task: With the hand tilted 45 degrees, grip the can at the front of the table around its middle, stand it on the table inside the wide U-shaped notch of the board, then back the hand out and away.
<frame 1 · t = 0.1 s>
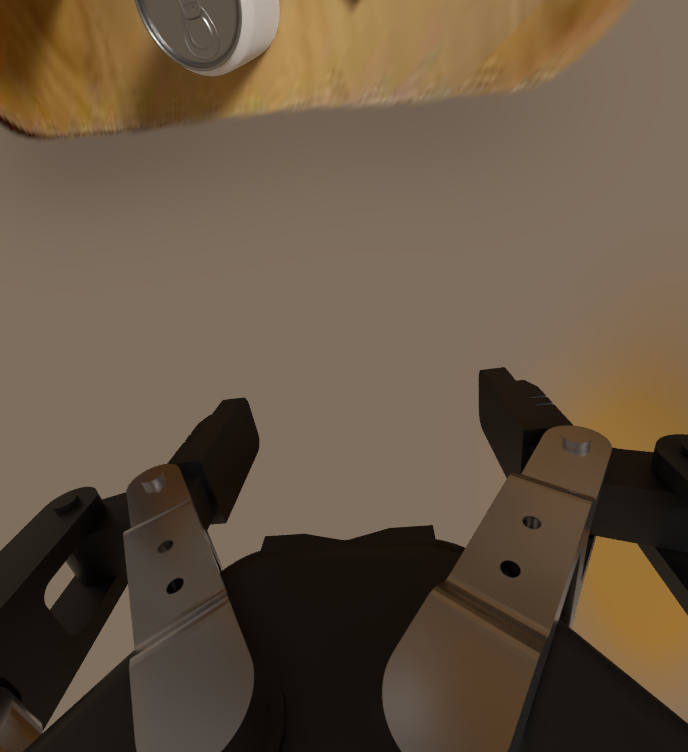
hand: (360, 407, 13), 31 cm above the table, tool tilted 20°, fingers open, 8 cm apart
can: (238, 2, 28), on the table
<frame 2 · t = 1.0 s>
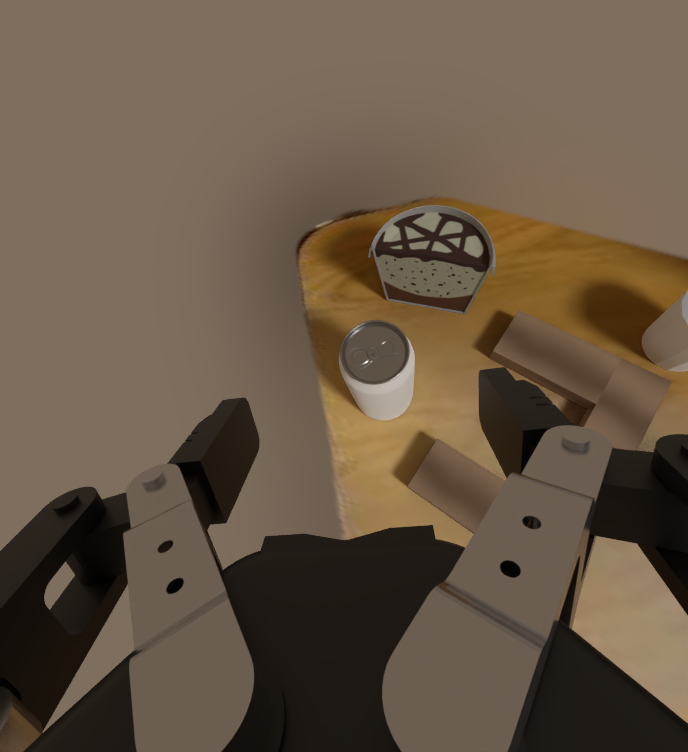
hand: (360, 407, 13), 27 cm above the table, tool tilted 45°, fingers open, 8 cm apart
can: (383, 393, 40), on the table
notched board: (531, 438, 36), on the table
white short cylinder: (671, 346, 37), on the table
food container: (430, 285, 44), on the table
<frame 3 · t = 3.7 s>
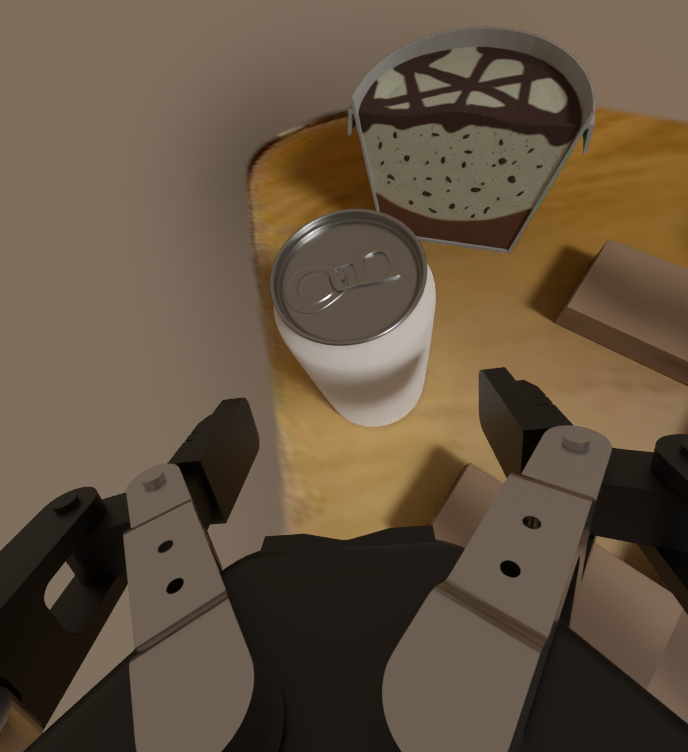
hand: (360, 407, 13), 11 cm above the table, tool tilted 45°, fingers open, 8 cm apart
can: (374, 381, 24), on the table
notched board: (640, 463, 20), on the table
food container: (452, 212, 28), on the table
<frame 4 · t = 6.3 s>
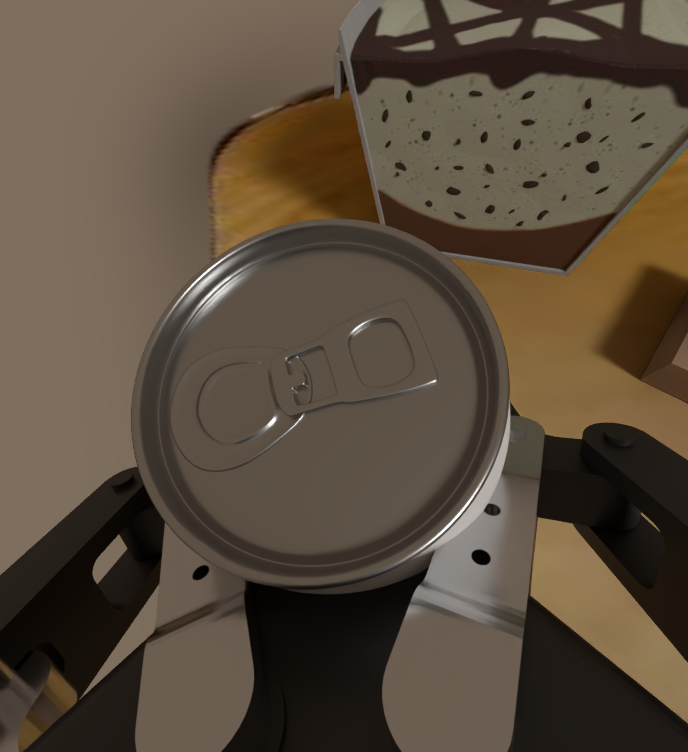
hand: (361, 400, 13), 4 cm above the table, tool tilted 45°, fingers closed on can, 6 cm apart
can: (375, 462, 17), on the table, touching gripper
food container: (481, 217, 20), on the table
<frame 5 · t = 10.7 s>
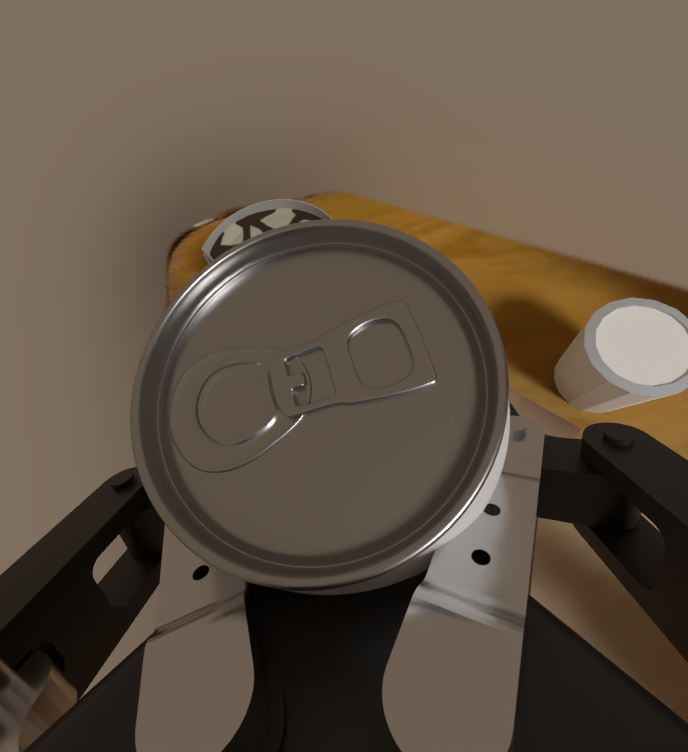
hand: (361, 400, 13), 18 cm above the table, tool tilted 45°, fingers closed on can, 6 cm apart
can: (375, 462, 17), point 14 cm above the table, touching gripper
notched board: (410, 495, 29), on the table
white short cylinder: (590, 380, 30), on the table
food container: (314, 298, 36), on the table
when the fingers open (4 cm above the table, at t = 15.4 s): can stays where it is, on the table.
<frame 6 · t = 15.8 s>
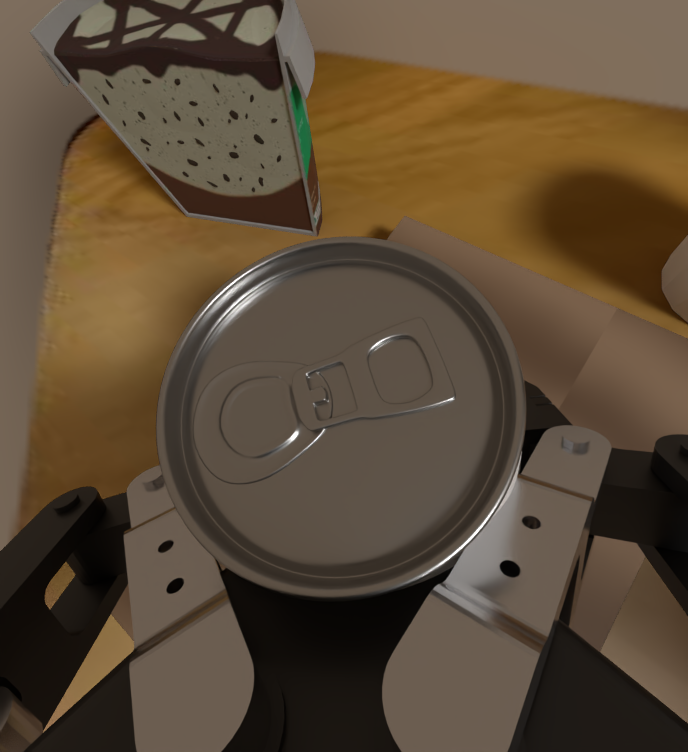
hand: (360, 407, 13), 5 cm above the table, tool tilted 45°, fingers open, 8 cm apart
can: (379, 466, 17), on the table
notched board: (413, 488, 16), on the table
food container: (267, 190, 24), on the table
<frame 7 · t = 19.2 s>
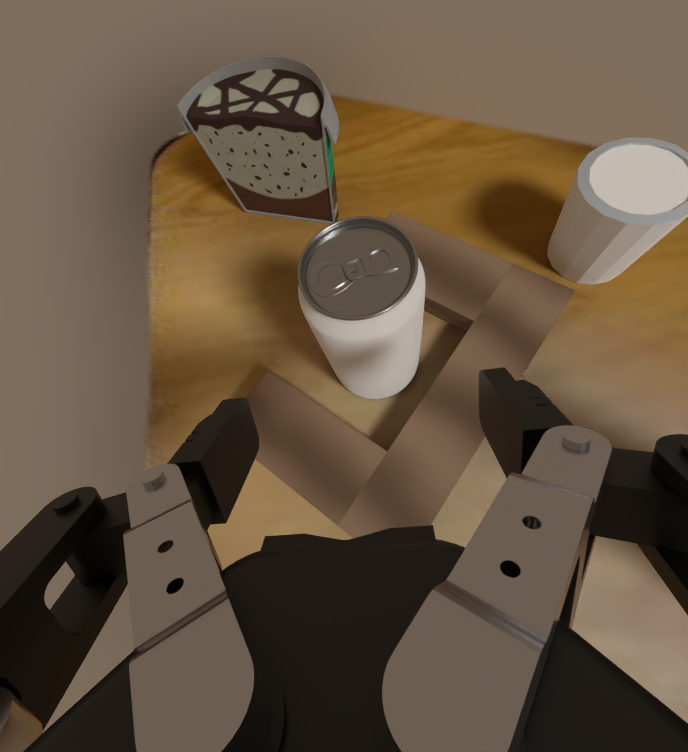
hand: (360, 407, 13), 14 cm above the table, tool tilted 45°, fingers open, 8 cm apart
can: (375, 361, 28), on the table
notched board: (395, 371, 27), on the table
white short cylinder: (585, 254, 28), on the table
food container: (300, 194, 35), on the table
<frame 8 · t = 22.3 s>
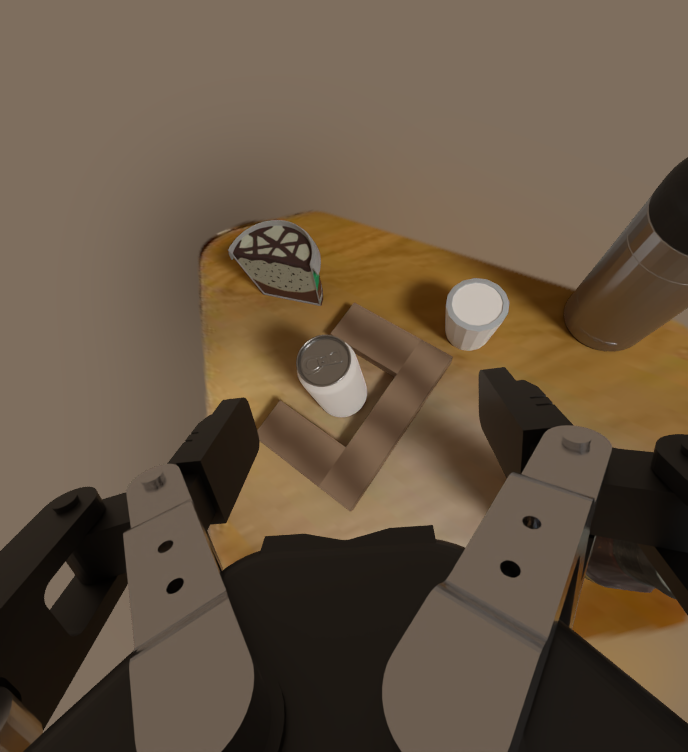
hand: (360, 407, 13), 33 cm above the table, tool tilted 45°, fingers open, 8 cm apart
sauce bottle: (551, 530, 39), on the table
can: (343, 394, 47), on the table
notched board: (354, 400, 47), on the table
white short cylinder: (467, 331, 48), on the table
food container: (299, 283, 54), on the table
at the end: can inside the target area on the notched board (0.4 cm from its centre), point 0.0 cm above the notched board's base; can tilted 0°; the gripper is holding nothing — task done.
